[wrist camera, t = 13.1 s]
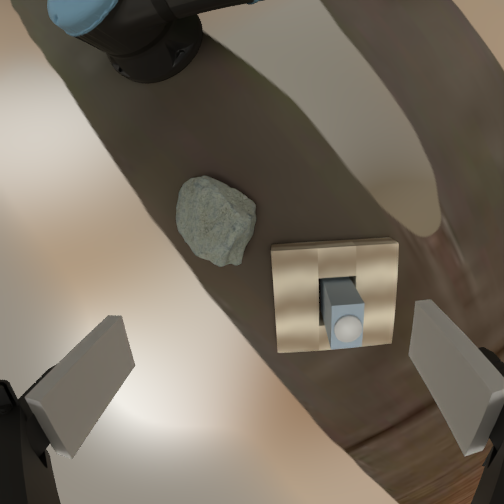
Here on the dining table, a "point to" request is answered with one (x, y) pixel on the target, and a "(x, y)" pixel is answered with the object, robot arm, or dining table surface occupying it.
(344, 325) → the keyed peg
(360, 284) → the hub block
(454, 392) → the robot arm
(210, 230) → the decorative stone
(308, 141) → the dining table surface
